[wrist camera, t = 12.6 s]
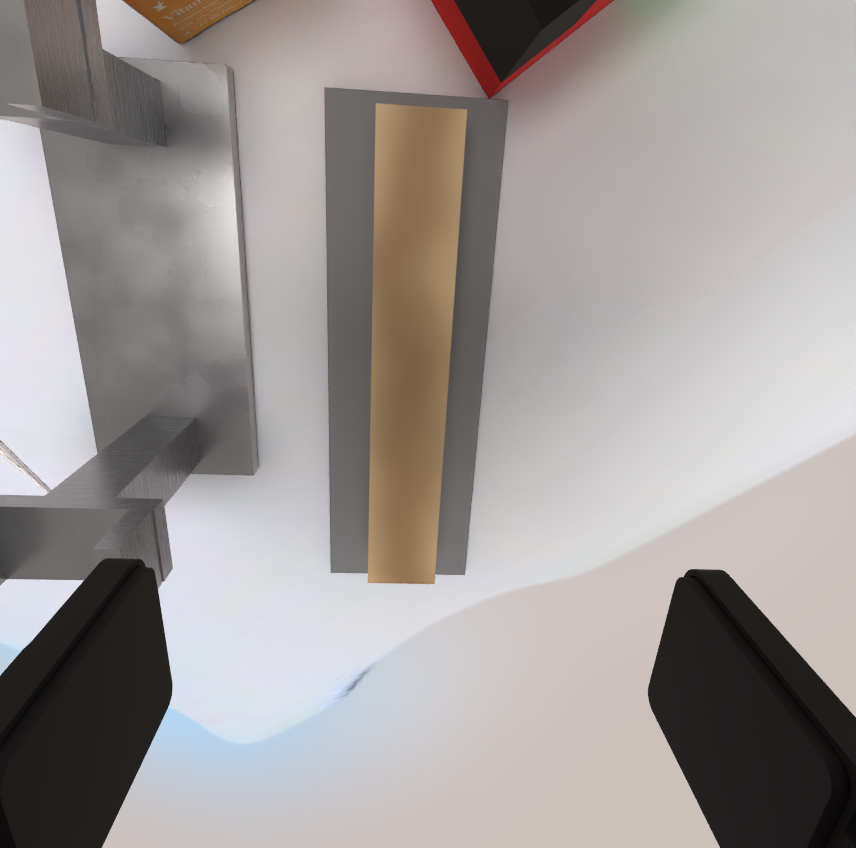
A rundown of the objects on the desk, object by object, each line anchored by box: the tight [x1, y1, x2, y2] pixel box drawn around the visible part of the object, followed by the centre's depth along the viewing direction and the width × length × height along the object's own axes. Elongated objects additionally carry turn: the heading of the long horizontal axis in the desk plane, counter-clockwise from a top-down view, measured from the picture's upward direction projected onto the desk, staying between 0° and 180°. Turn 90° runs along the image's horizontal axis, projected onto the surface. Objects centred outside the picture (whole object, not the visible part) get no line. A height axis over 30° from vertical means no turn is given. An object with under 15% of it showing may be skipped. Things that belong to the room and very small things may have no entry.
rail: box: [368, 103, 467, 584], centre depth 26 cm, size 4×22×4 cm, turn 177°
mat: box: [325, 87, 508, 575], centre depth 29 cm, size 8×25×1 cm, turn 177°
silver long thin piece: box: [0, 441, 51, 493], centre depth 31 cm, size 4×1×19 cm
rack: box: [0, 0, 258, 588], centre depth 21 cm, size 8×19×13 cm, turn 177°
